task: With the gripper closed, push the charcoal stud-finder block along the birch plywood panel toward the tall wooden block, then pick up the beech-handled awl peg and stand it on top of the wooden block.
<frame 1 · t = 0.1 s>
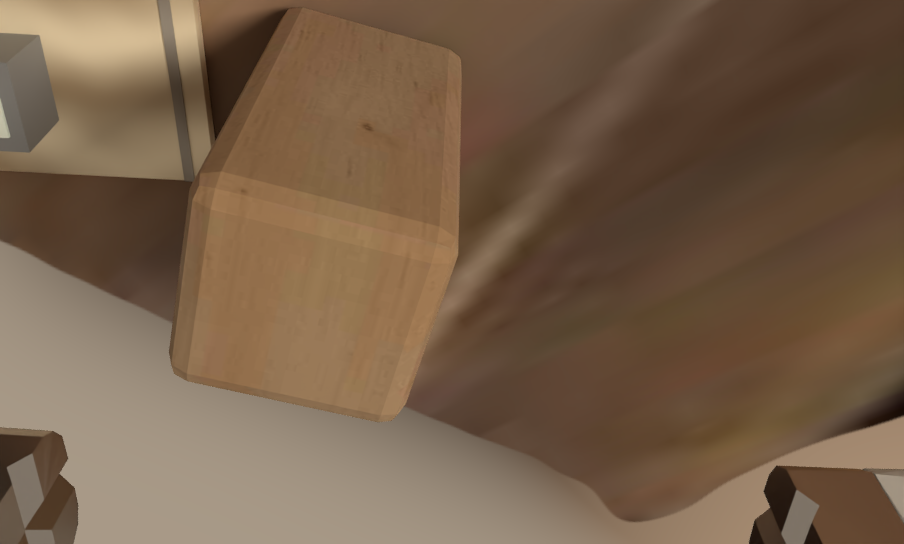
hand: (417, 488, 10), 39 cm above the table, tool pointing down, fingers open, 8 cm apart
wooden block: (358, 103, 49), on the table
plywood panel: (65, 72, 48), on the table
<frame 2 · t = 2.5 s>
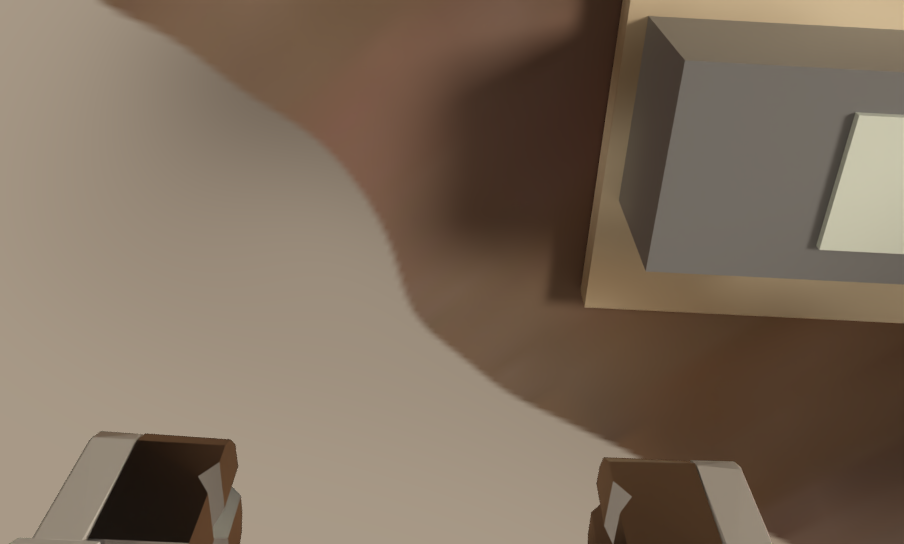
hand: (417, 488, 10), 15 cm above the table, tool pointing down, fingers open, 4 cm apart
stud finder: (765, 120, 22), point 1 cm above the table, touching plywood panel
plywood panel: (900, 115, 23), on the table
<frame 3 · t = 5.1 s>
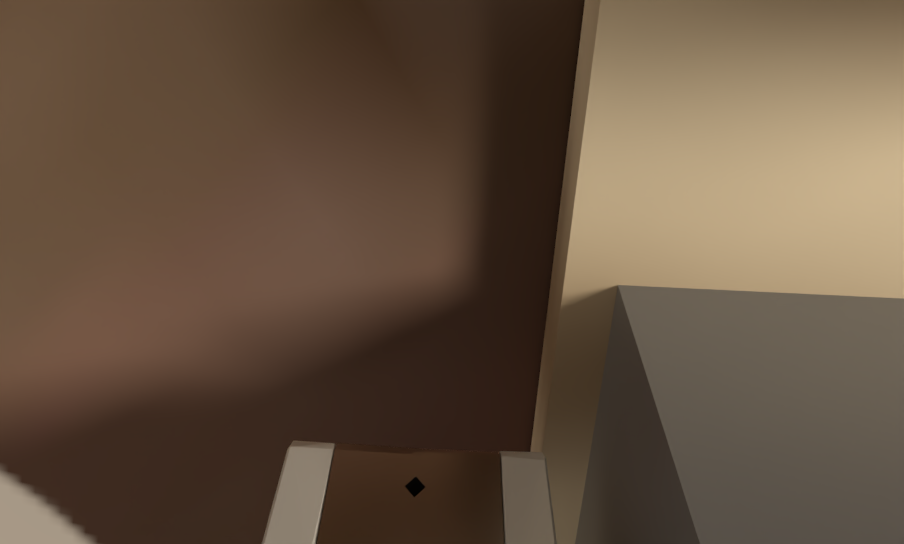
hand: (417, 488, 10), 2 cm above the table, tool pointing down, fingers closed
stud finder: (861, 465, 11), point 1 cm above the table, touching gripper, plywood panel
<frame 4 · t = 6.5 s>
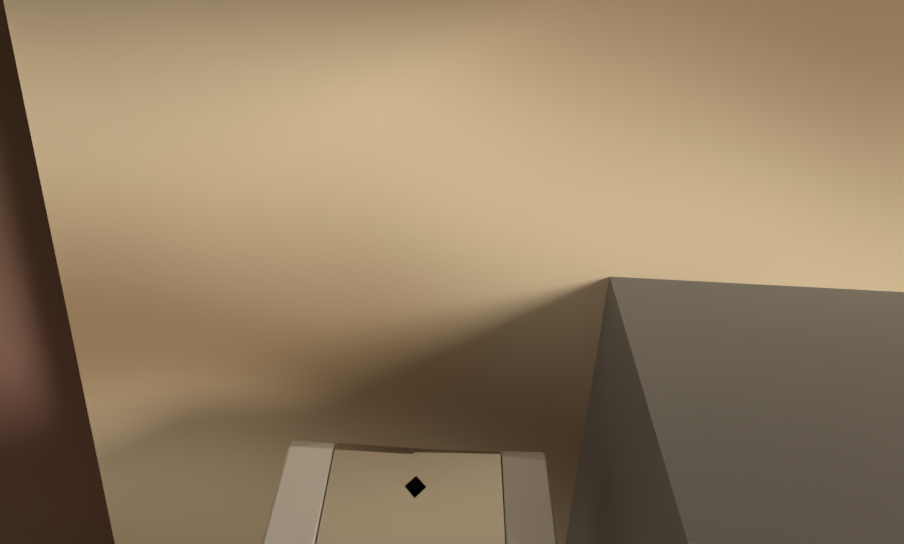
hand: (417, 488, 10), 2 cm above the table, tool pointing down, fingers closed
stud finder: (849, 456, 11), point 1 cm above the table, touching gripper, plywood panel
plywood panel: (691, 388, 12), on the table
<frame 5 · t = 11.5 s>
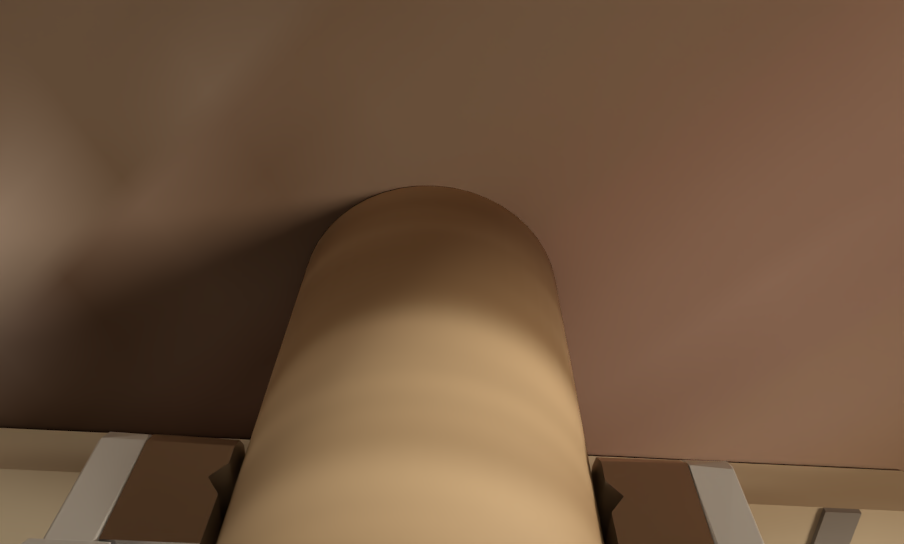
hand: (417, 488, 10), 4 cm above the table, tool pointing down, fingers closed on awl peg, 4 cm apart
awl peg: (430, 301, 14), on the table, touching gripper
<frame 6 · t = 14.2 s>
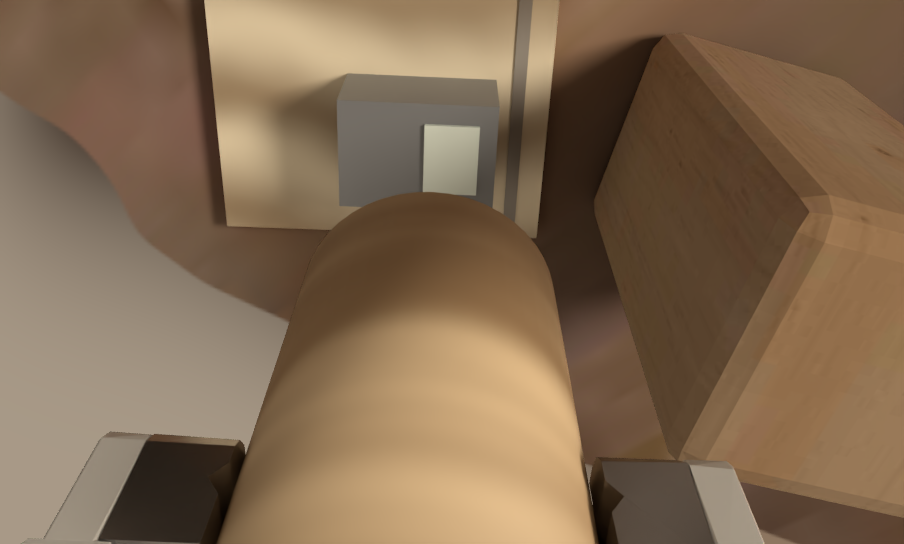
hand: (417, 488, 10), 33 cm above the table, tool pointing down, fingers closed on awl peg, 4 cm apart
wooden block: (711, 144, 43), on the table
stud finder: (420, 127, 41), point 1 cm above the table, touching plywood panel
plywood panel: (383, 114, 42), on the table
awl peg: (428, 307, 14), point 29 cm above the table, touching gripper
when the fingers open (26 cm above the table, at t = 16.8 s): awl peg drops 2 cm, resting on wooden block.
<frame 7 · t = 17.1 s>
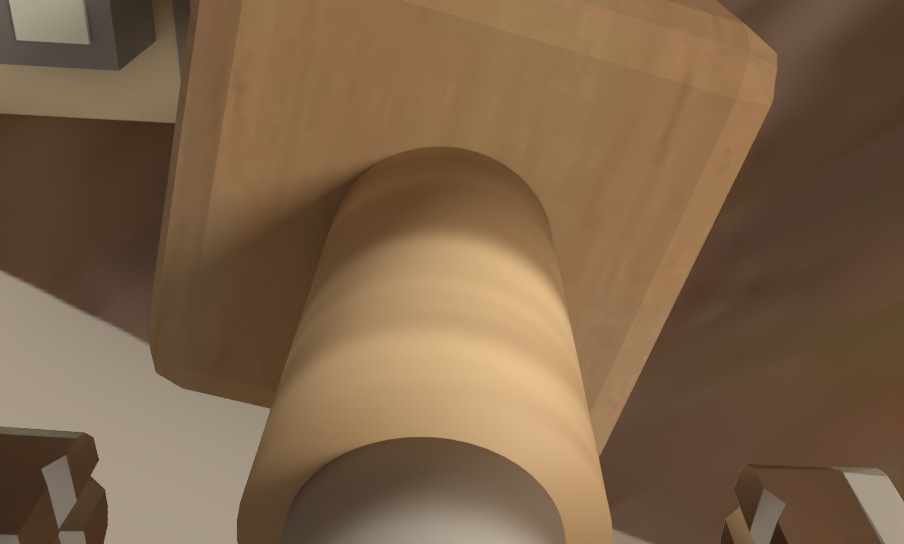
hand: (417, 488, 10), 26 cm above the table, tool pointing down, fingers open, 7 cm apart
wooden block: (450, 3, 33), on the table, touching awl peg
awl peg: (440, 252, 15), point 20 cm above the table, touching wooden block
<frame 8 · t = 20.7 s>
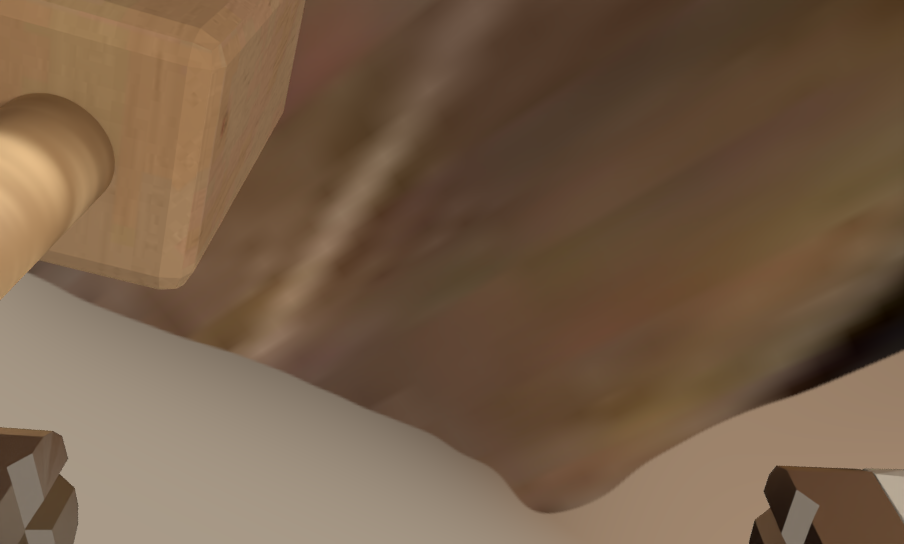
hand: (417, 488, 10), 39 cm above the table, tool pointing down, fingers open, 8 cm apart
wooden block: (209, 10, 46), on the table, touching awl peg
awl peg: (54, 151, 28), point 20 cm above the table, touching wooden block
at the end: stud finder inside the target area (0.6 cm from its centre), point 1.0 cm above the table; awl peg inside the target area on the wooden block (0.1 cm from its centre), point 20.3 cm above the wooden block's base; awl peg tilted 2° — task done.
